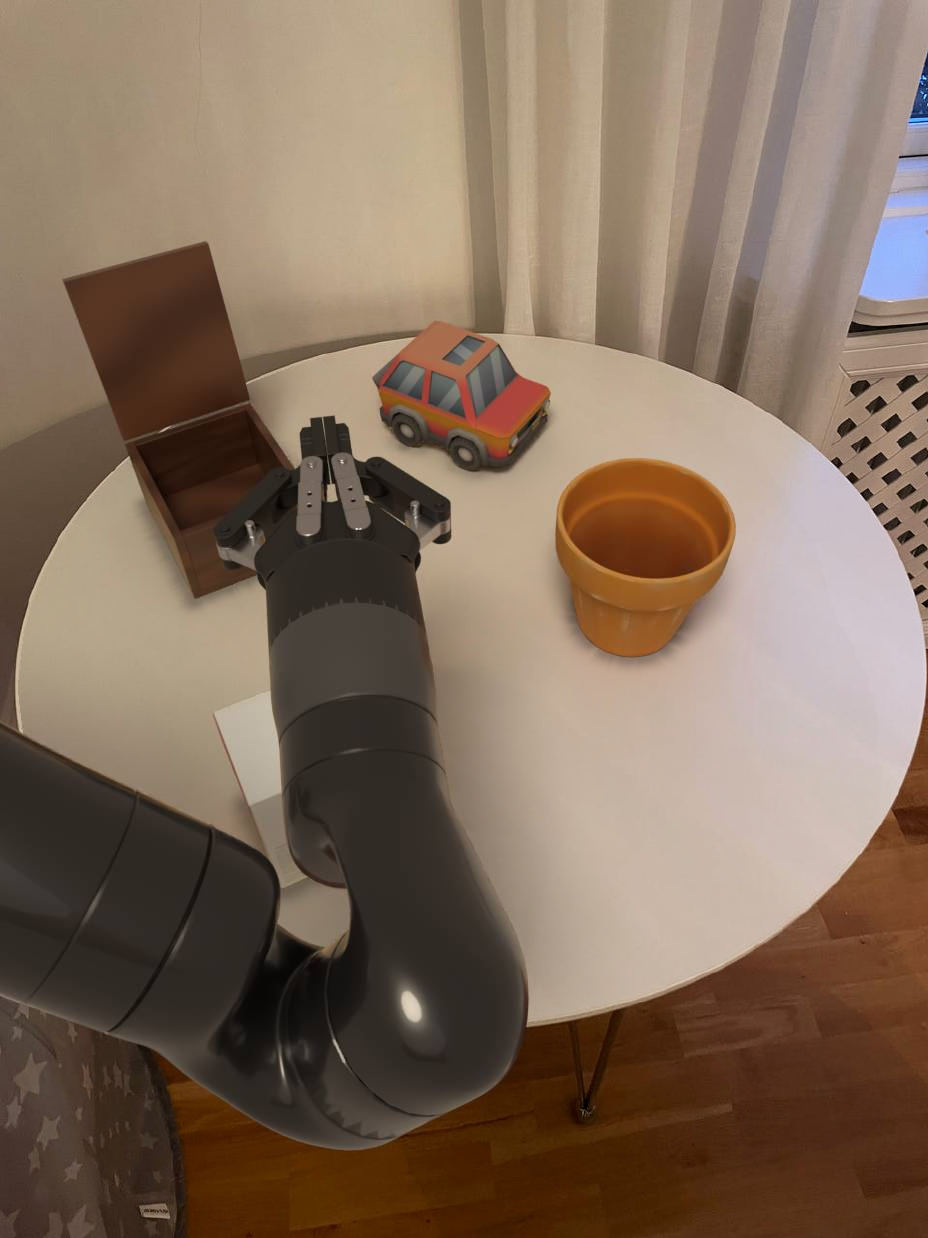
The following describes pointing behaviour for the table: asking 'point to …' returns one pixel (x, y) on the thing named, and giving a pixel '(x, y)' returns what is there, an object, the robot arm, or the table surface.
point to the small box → (259, 774)
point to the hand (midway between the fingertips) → (323, 428)
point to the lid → (159, 338)
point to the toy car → (461, 397)
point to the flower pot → (640, 549)
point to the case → (204, 486)
